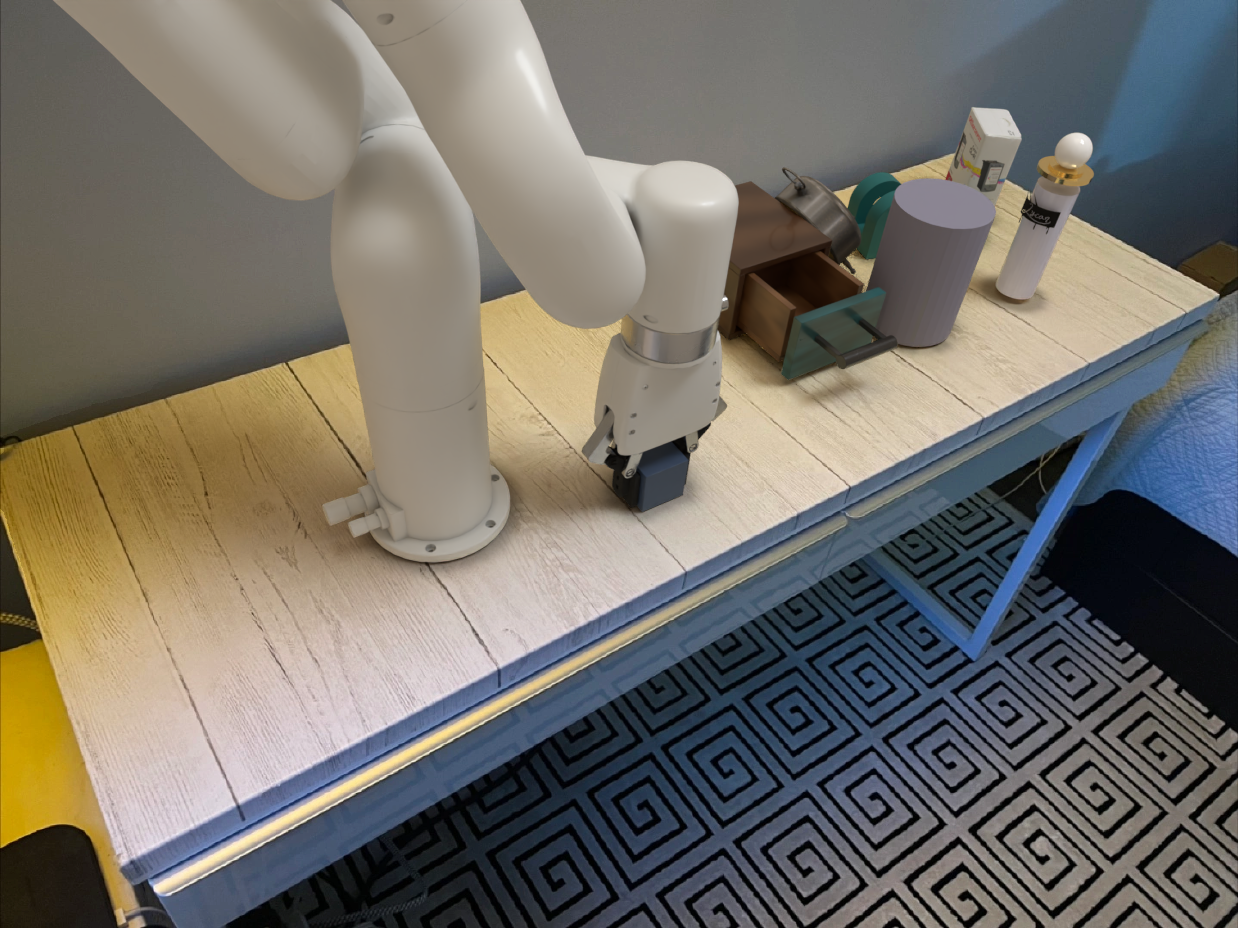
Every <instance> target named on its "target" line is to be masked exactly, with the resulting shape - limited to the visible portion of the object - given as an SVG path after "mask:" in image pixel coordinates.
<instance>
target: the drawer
mask: <svg viewBox="0 0 1238 928" xmlns="http://www.w3.org/2000/svg"><path fill="white" fill-rule="evenodd" d="M864 287H865V283H864V282H862V281H861V280H860V279H858V277H856V276H854V274H851V272H850V271H847V270H846V269H845V268H843V267H842V266H841V264H840V265H838V264H837V263H835V262H834V261H833V260H831V259H830V258H829V257H827V256H826V255H825V254H823V253H822V252H821V251H819V250H818V251H815V252H812V253H809V254H805V255H802V256H799V257H796V258H793V259H790V260H787V261H784V262H781V263H777V264H774V265H771V266H768V267H765V268H762V269H759V270H756V271H753V272H750V273H746V274H745V278H744V284H743V289H742V295H741V301H740V306H739V312H738V318H737V323H736V325H737V326H738V327H739V328H740V329H742V330H743V331H744V332H745V333H746V334H745V335H747V337H749V338H751V340H753V341H754V342H755V343H756V344H757V345H758V346H760V347H761V348H762V349H763V350H764V351H765V352H766V353H767V354H769V356H771V357H772V358H773V359H774V360H775V361H776V362H778V363H782V362H783V364H782V367H781V372H780V375H781V376H782V377H784V378H785V379H786V380H787V381H791V380H793V379H795V378H798V377H800V376H803V375H805V374H808V373H811V372H813V371H816V370H818V369H821V368H824V367H825V366H829V365H830V364H834V363H835V364H836V366H837V367H838V368H839V369H840V370H846V369H848V368H851V367H854V366H856V365H858V364H861V363H863V362H866V361H869V360H872V359H874V358H876V357H879V356H881V355H885V354H886V353H889V352H891V351H895V350H896V349H897V348H898V346H899V344H898V342H897V339H896V338H895V337H894V336H893V335H889V336H887V337H886V336H885V335H884V334H883V333H881V332H880V331H879V330H878V329H876V325H877V321H878V318H879V315H880V312H881V309H882V305H883V302H884V299H885V296H886V292H885V291H883V290H882V289H881V288H879V287H877V288H874V289H871V290H869V291H866V290H865V291H863V290H864ZM873 338H874V339H876V340H874V341H873Z"/></svg>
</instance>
